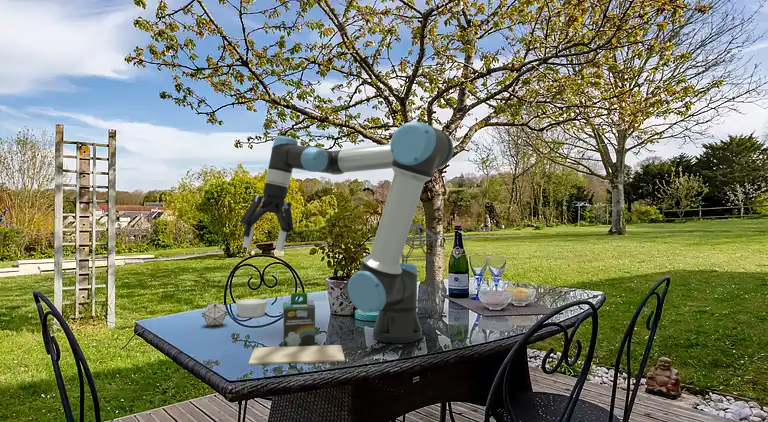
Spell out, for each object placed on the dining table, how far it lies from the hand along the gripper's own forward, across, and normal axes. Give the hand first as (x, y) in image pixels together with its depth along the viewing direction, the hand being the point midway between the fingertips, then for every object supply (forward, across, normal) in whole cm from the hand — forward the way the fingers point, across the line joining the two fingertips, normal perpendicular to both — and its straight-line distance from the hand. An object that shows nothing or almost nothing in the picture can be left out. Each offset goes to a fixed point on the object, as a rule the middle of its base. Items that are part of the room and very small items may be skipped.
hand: (263, 249), depth 155 cm
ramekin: (+28, -18, -19) cm, 38 cm away
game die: (+29, +1, -14) cm, 33 cm away
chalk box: (+24, 0, +23) cm, 33 cm away
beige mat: (+23, +8, +32) cm, 40 cm away
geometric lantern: (+16, -54, +29) cm, 64 cm away
